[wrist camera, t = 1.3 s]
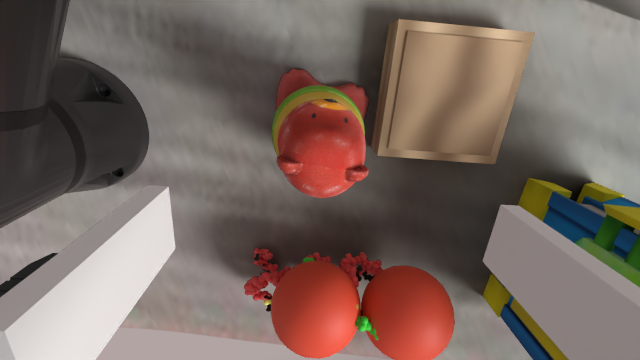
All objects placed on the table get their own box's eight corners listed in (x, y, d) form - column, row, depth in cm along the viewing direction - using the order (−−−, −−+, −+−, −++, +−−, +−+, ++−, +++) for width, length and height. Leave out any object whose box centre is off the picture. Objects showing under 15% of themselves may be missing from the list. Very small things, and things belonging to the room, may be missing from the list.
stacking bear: (372, 88, 36) (426, 110, 19) (347, 167, 39) (375, 242, 23) (283, 63, 35) (258, 63, 18) (265, 147, 38) (231, 211, 21)
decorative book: (612, 177, 41) (1263, 420, 13) (547, 309, 49) (861, 634, 21) (513, 166, 40) (987, 405, 12) (463, 303, 48) (676, 635, 20)
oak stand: (370, 146, 38) (377, 156, 34) (389, 24, 33) (399, 18, 29) (477, 154, 39) (496, 164, 35) (510, 36, 34) (536, 32, 30)
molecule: (425, 224, 43) (483, 305, 28) (415, 286, 47) (462, 385, 32) (247, 226, 42) (214, 310, 28) (253, 289, 46) (227, 391, 32)
